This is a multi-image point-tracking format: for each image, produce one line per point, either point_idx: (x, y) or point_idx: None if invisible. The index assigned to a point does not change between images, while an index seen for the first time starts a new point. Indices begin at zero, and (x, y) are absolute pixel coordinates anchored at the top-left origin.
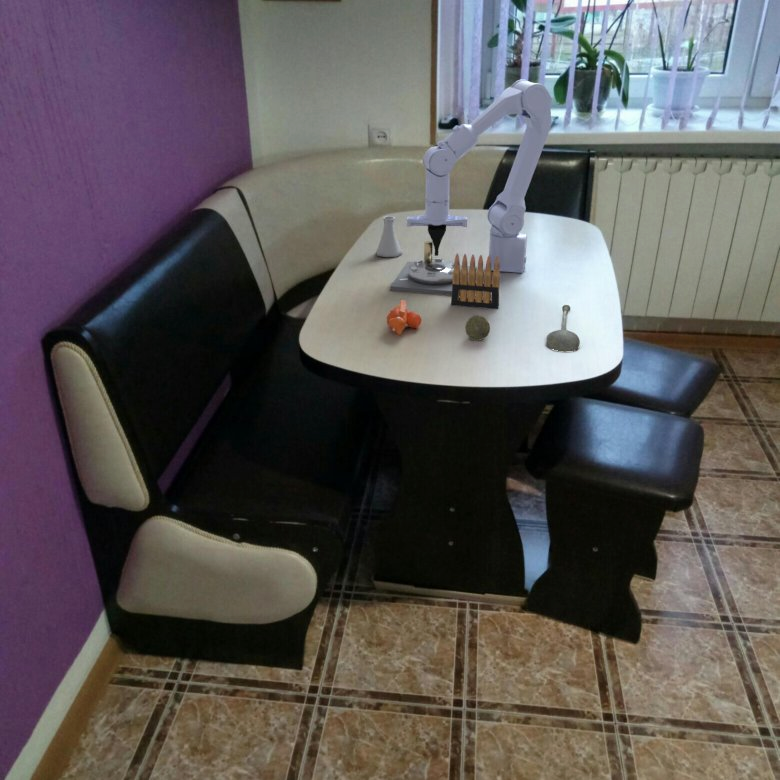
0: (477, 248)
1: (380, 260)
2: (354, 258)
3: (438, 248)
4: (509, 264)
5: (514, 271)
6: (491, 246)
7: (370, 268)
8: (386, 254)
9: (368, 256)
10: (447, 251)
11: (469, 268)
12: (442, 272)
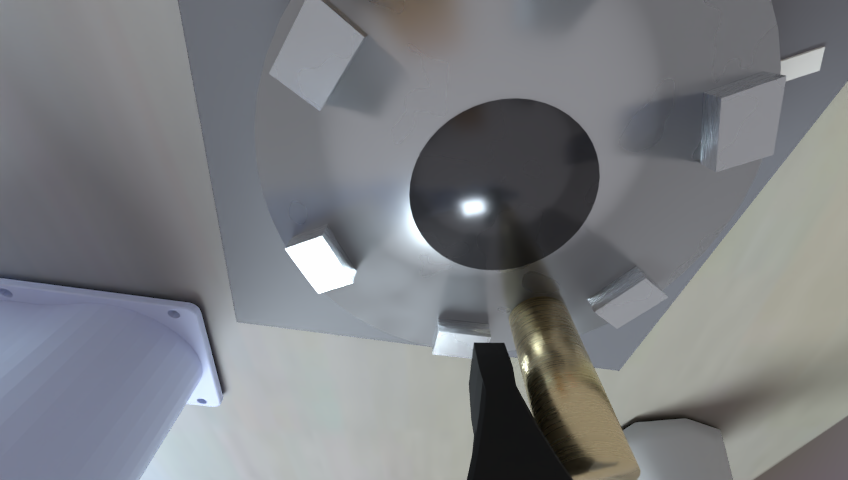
0: (305, 476)
1: (722, 395)
2: (834, 410)
3: (482, 399)
4: (29, 326)
5: (17, 283)
6: (81, 452)
7: (831, 317)
8: (692, 432)
9: (756, 425)
10: (413, 459)
11: (271, 298)
12: (436, 69)
